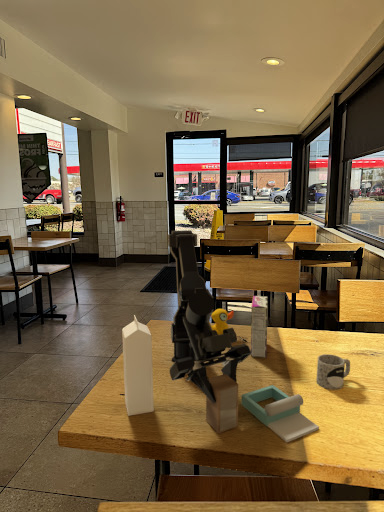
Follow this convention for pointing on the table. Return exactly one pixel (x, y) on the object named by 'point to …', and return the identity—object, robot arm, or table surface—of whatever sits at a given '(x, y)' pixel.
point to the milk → (137, 368)
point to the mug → (332, 371)
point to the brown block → (223, 404)
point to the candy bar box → (259, 326)
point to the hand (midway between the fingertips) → (225, 399)
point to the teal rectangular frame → (279, 412)
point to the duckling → (221, 320)
